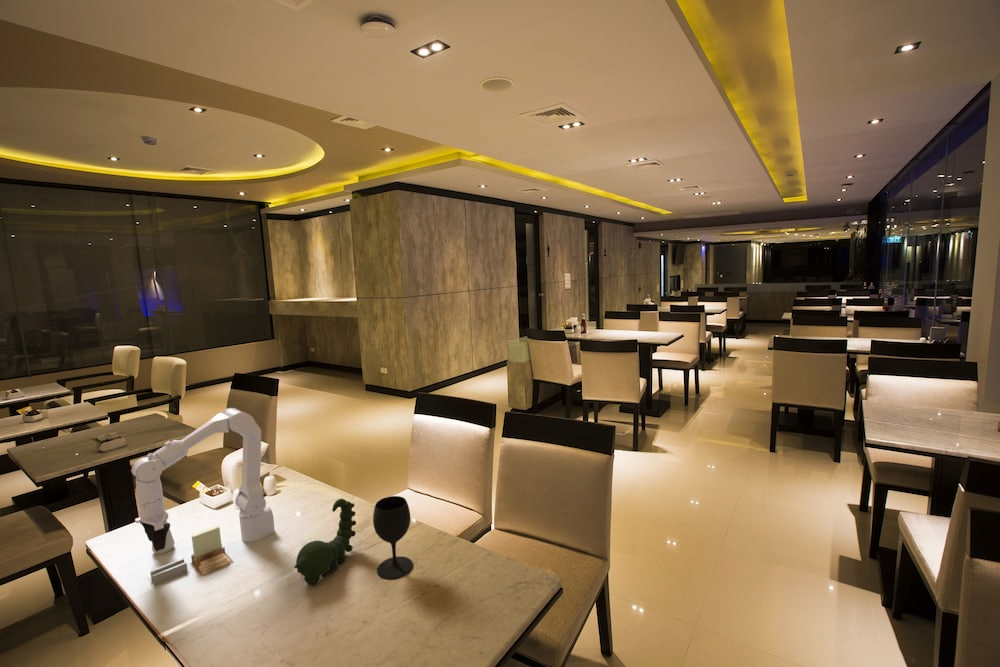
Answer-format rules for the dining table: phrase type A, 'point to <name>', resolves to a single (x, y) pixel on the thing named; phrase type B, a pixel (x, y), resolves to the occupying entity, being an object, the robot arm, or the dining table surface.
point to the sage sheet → (206, 541)
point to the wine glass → (392, 534)
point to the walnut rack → (197, 561)
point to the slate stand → (168, 572)
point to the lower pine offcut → (214, 567)
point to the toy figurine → (327, 547)
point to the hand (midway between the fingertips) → (157, 544)
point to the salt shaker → (169, 540)
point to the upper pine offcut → (213, 561)
